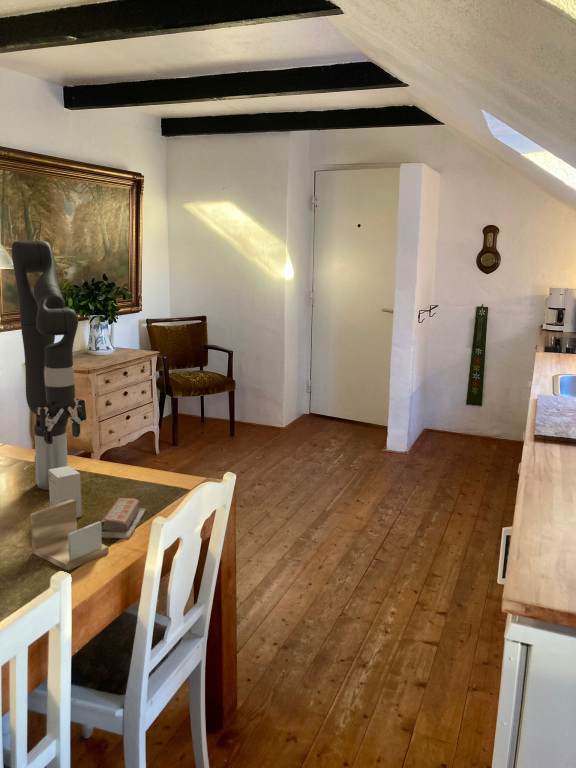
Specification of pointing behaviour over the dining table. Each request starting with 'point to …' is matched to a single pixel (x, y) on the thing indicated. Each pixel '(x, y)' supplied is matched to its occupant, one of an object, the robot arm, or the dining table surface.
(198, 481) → the dining table surface
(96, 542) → the grey rectangular panel
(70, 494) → the small box
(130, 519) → the packaged product
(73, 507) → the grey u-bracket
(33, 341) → the robot arm
